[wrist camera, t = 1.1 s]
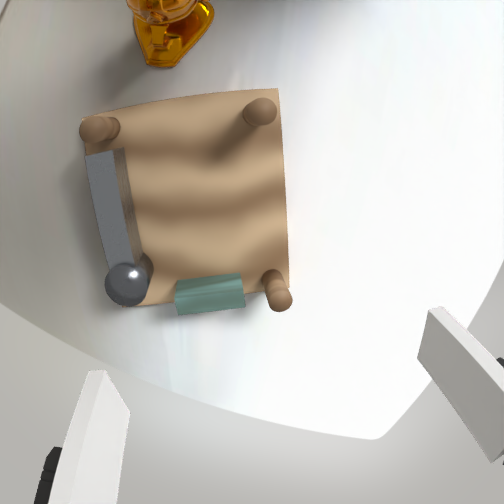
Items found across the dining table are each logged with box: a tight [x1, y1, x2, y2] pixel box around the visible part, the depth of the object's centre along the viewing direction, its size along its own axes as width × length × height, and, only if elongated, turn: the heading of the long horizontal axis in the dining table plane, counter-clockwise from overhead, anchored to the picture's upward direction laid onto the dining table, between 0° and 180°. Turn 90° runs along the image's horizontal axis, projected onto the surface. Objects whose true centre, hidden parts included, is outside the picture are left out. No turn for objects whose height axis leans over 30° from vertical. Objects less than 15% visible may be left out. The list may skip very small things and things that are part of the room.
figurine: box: [126, 0, 214, 68], centre depth 19 cm, size 8×11×12 cm
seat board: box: [79, 88, 292, 315], centre depth 29 cm, size 22×20×6 cm
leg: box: [85, 147, 154, 307], centre depth 28 cm, size 15×4×4 cm, turn 5°
